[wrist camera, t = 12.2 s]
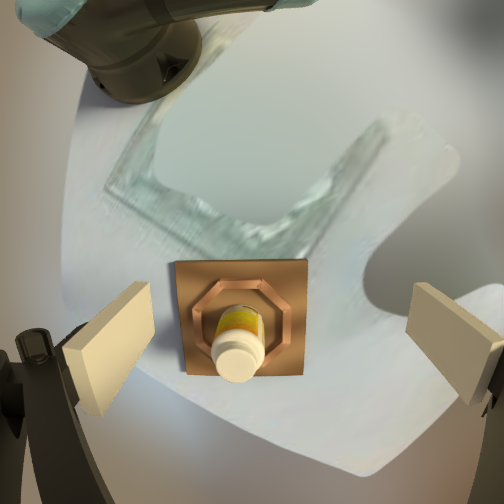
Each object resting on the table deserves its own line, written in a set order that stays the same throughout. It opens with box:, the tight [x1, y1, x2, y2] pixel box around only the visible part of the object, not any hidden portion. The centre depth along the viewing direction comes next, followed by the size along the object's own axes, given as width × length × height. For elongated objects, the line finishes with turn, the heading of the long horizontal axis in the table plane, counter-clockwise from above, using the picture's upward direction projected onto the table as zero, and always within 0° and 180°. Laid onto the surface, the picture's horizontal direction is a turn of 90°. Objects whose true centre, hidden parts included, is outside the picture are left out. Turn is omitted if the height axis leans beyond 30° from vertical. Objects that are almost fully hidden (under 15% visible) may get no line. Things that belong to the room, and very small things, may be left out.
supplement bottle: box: [211, 305, 265, 383], centre depth 33 cm, size 6×6×10 cm
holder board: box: [175, 259, 308, 376], centre depth 38 cm, size 16×16×2 cm
